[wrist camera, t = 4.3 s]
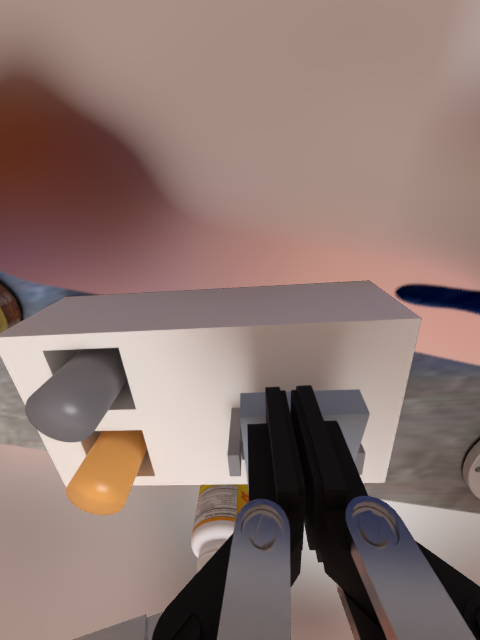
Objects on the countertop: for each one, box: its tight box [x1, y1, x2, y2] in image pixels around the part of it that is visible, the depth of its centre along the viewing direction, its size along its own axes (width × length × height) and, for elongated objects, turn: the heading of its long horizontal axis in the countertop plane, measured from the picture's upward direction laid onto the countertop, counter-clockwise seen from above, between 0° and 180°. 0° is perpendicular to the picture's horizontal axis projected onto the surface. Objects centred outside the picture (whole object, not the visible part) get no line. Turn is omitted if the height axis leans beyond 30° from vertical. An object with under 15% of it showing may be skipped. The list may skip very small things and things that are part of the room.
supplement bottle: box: [191, 484, 249, 573], centre depth 25 cm, size 6×6×10 cm
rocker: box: [240, 389, 370, 526], centre depth 15 cm, size 6×11×2 cm, turn 4°
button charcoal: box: [25, 348, 128, 442], centre depth 18 cm, size 4×4×8 cm
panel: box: [0, 281, 422, 486], centre depth 19 cm, size 24×13×10 cm, turn 94°
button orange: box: [66, 430, 147, 515], centre depth 20 cm, size 4×4×8 cm
